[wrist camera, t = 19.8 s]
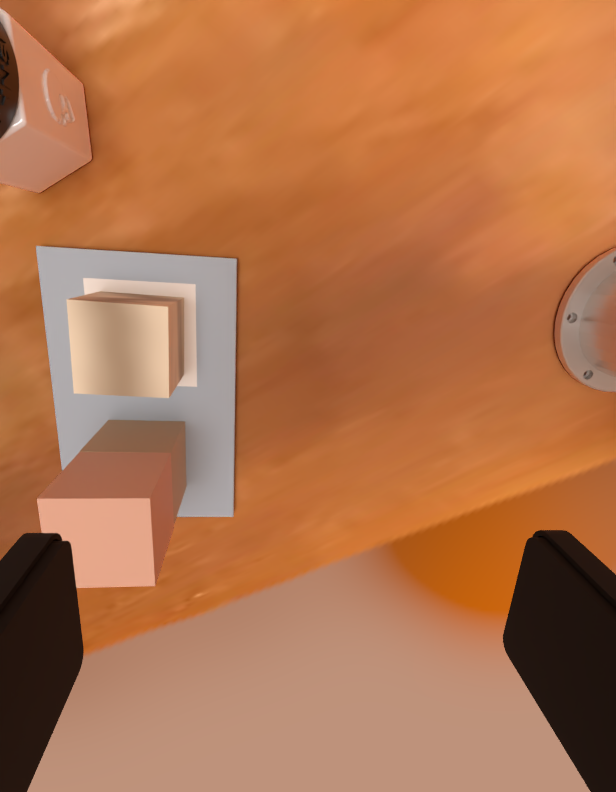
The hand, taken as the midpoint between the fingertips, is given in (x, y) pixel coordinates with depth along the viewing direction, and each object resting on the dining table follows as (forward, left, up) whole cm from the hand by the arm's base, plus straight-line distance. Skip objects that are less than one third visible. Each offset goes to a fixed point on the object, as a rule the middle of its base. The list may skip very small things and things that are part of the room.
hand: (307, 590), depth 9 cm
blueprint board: (+10, +5, -28) cm, 30 cm away
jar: (+17, -14, -28) cm, 36 cm away
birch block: (+10, 0, -27) cm, 29 cm away
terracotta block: (+10, +10, -21) cm, 26 cm away
